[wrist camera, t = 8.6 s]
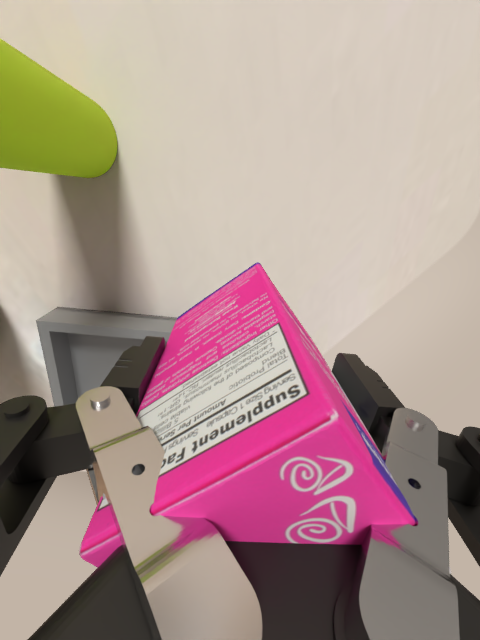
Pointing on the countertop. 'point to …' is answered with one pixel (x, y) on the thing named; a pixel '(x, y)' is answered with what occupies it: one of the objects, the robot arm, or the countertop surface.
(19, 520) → the robot arm
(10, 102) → the soap dispenser
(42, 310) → the countertop surface
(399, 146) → the countertop surface
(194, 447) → the supplement box
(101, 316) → the tray
